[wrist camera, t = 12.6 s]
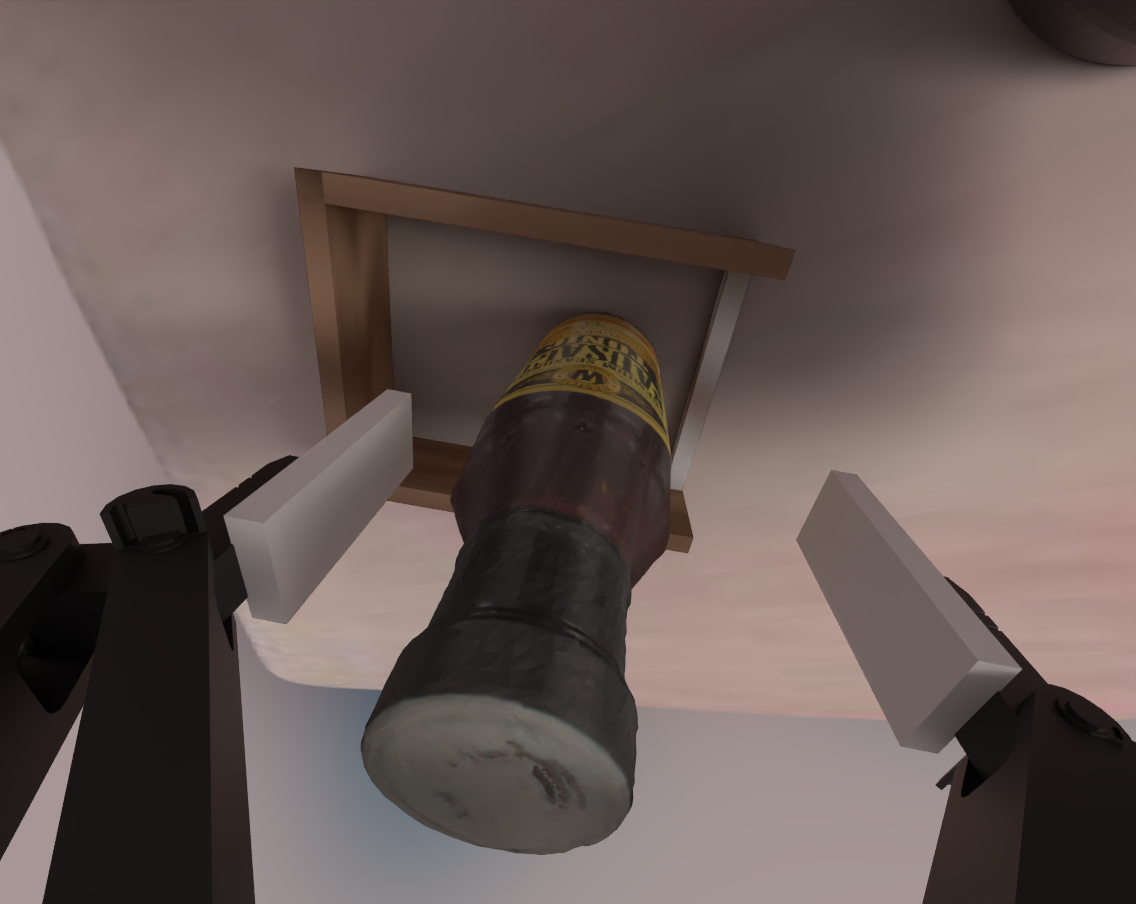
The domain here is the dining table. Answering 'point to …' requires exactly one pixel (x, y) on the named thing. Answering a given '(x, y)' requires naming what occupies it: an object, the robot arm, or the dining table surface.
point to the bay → (359, 236)
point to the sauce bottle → (537, 608)
